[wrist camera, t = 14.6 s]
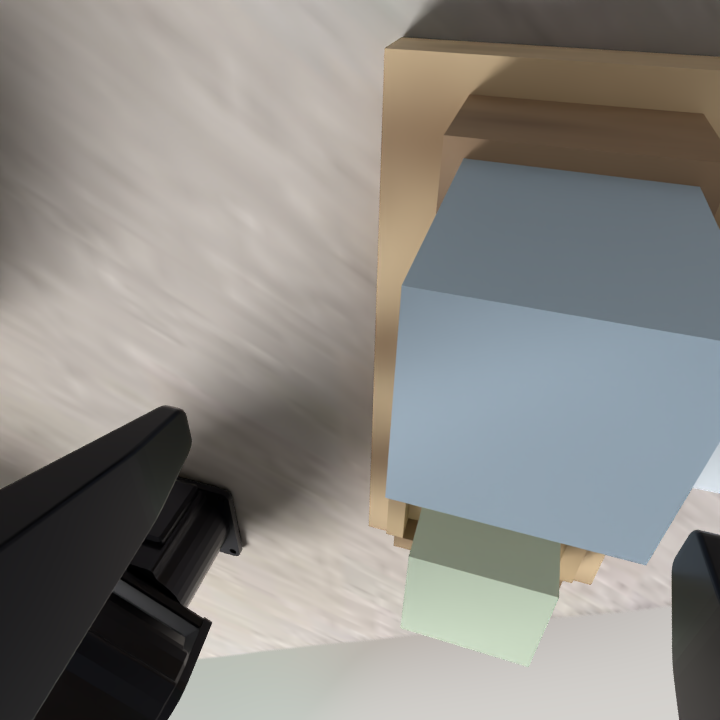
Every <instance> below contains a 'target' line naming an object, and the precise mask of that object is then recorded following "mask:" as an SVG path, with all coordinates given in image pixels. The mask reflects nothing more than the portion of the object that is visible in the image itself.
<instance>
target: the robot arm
mask: <svg viewBox="0 0 720 720" xmlns="http://www.w3.org/2000/svg"><path fill="white" fill-rule="evenodd" d="M191 444H192V438H191V434H190V429H189V425H188V420H187V416H186V413H185V412H184V410H182V409H180V408H176V407H172V406H167V405H165V406H161V407H158V408H156V409H154V410H152V411H151V412H149V413H147V414H145V415H143V416H141V417H139V418H137V419H135V420H133V421H131V422H129V423H127V424H126V425H124V426H122V427H120V428H118V429H116V430H114V431H112V432H110V433H108V434H106V435H104V436H102V437H101V438H99V439H97V440H95V441H93V442H91V443H89V444H87V445H85V446H83V447H81V448H79V449H77V450H76V451H74V452H72V453H70V454H68V455H66V456H64V457H62V458H60V459H58V460H56V461H54V462H52V463H51V464H49V465H47V466H45V467H43V468H41V469H39V470H37V471H35V472H33V473H31V474H29V475H27V476H26V477H24V478H22V479H20V480H18V481H16V482H14V483H12V484H10V485H8V486H6V487H4V488H2V489H1V490H0V720H168V718H169V717H170V715H171V713H172V712H173V710H174V709H175V707H176V705H177V703H178V702H179V700H180V698H181V696H182V694H183V692H184V690H185V687H186V685H187V683H188V681H189V678H190V676H191V673H192V671H193V668H194V666H195V663H196V661H197V659H198V656H199V654H200V651H201V649H202V646H203V644H204V641H205V639H206V637H207V634H208V632H209V629H210V627H211V624H212V622H211V621H210V620H208V619H207V618H205V617H204V618H202V617H200V616H199V615H197V614H196V613H194V612H193V611H191V610H189V609H188V608H187V607H188V605H189V604H190V602H191V600H192V598H193V597H194V595H195V593H196V591H197V590H198V588H199V586H200V584H201V582H202V581H203V579H204V577H205V575H206V574H207V572H208V570H209V568H210V567H211V565H212V563H213V561H214V560H215V558H216V556H217V554H218V553H219V551H220V552H224V553H227V554H230V555H234V556H239V555H240V553H241V551H242V544H241V539H240V534H239V529H238V524H237V519H236V514H235V509H234V504H233V499H232V495H231V494H230V493H229V492H228V491H227V490H225V489H221V488H218V487H214V486H210V485H206V484H203V483H199V482H195V481H191V480H188V479H184V478H180V477H178V474H179V472H180V470H181V468H182V466H183V464H184V462H185V460H186V458H187V456H188V454H189V451H190V448H191ZM672 660H673V673H674V682H675V691H676V698H677V706H678V713H679V720H720V535H718V534H714V533H709V532H705V531H701V530H694V531H693V532H691V533H690V535H689V536H688V538H687V539H686V541H685V543H684V544H683V546H682V547H681V549H680V551H679V552H678V554H677V555H676V557H675V559H674V562H673V566H672Z"/></svg>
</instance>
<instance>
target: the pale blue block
mask: <svg viewBox="0 0 720 720" xmlns="http://www.w3.org/2000/svg"><path fill="white" fill-rule="evenodd" d="M719 442H720V229H719V227H718V225H717V223H716V221H715V218H714V216H713V214H712V212H711V210H710V208H709V205H708V203H707V201H706V199H705V197H704V194H703V192H702V190H701V188H700V187H698V186H689V185H681V184H673V183H664V182H656V181H648V180H639V179H631V178H623V177H615V176H606V175H598V174H590V173H581V172H573V171H565V170H556V169H548V168H540V167H531V166H523V165H515V164H507V163H498V162H490V161H482V160H473V159H465V158H463V161H462V163H461V165H460V167H459V169H458V171H457V173H456V175H455V177H454V179H453V181H452V183H451V185H450V187H449V189H448V191H447V193H446V195H445V197H444V200H443V202H442V204H441V206H440V208H439V210H438V212H437V214H436V216H435V218H434V220H433V222H432V224H431V226H430V228H429V230H428V232H427V234H426V237H425V239H424V241H423V243H422V245H421V247H420V249H419V251H418V253H417V255H416V257H415V259H414V261H413V263H412V265H411V267H410V269H409V271H408V273H407V276H406V278H405V280H404V282H403V284H402V287H401V300H400V313H399V326H398V339H397V352H396V365H395V378H394V390H393V403H392V416H391V429H390V442H389V455H388V468H387V481H386V494H385V498H388V499H392V500H396V501H400V502H404V503H408V504H412V505H415V506H419V507H423V508H427V509H431V510H435V511H439V512H442V513H446V514H450V515H454V516H458V517H462V518H465V519H469V520H473V521H477V522H481V523H485V524H489V525H492V526H496V527H500V528H504V529H508V530H512V531H516V532H519V533H523V534H527V535H531V536H535V537H539V538H543V539H546V540H550V541H554V542H558V543H562V544H566V545H570V546H573V547H577V548H581V549H585V550H589V551H593V552H597V553H600V554H604V555H608V556H612V557H616V558H620V559H624V560H627V561H631V562H635V563H639V564H643V565H647V563H648V561H649V560H650V558H651V556H652V555H653V553H654V551H655V550H656V548H657V546H658V544H659V543H660V541H661V539H662V538H663V536H664V534H665V533H666V531H667V529H668V528H669V526H670V524H671V523H672V521H673V519H674V518H675V516H676V514H677V513H678V511H679V509H680V508H681V506H682V504H683V503H684V501H685V499H686V498H687V496H688V494H689V493H690V491H691V489H692V488H693V486H694V484H695V483H696V481H697V479H698V478H699V476H700V474H701V473H702V471H703V469H704V468H705V466H706V464H707V463H708V461H709V459H710V458H711V456H712V454H713V453H714V451H715V449H716V448H717V446H718V444H719Z"/></svg>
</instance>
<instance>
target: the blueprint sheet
mask: <svg viewBox="0 0 720 720" xmlns="http://www.w3.org/2000/svg"><path fill="white" fill-rule="evenodd" d="M693 488H696V489H701V490H705V491H710V492H714V493H719V494H720V442H719V444H718V446H717V448H716V449H715V451H714V453H713V454H712V456H711V458H710V459H709V461H708V463H707V464H706V466H705V468H704V469H703V471H702V473H701V474H700V476H699V478H698V479H697V481H696V483H695V484H694V486H693Z"/></svg>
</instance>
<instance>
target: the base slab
mask: <svg viewBox="0 0 720 720" xmlns="http://www.w3.org/2000/svg"><path fill="white" fill-rule="evenodd" d="M463 158H465V159H473V160H482V161H490V162H498V163H507V164H515V165H523V166H531V167H540V168H548V169H556V170H565V171H573V172H581V173H590V174H598V175H606V176H615V177H623V178H631V179H639V180H648V181H656V182H664V183H673V184H681V185H689V186H698V187H700V188H701V190H702V192H703V194H704V197H705V199H706V201H707V203H708V205H709V208H710V210H711V212H712V214H713V216H714V218H715V221H716V223H717V225H718V227H719V229H720V57H715V56H698V55H682V54H666V53H650V52H633V51H617V50H601V49H585V48H568V47H552V46H536V45H520V44H503V43H487V42H471V41H455V40H438V39H422V38H406V37H401V38H400V39H398V40H397V41H395V42H394V43H392V44H391V45H389V46H387V47H386V48H385V54H384V84H383V114H382V144H381V174H380V205H379V235H378V265H377V295H376V326H375V356H374V386H373V416H372V446H371V477H370V507H369V526H370V527H374V528H378V529H382V530H386V531H387V532H386V534H389V535H393V536H394V546H397V547H401V548H405V549H408V550H411V547H412V543H413V539H414V535H415V532H416V528H417V524H418V520H419V517H420V513H421V509H422V507H419V506H415V505H412V504H408V503H404V502H400V501H396V500H392V499H388V498H385V494H386V481H387V468H388V455H389V442H390V429H391V416H392V403H393V390H394V378H395V365H396V352H397V339H398V326H399V313H400V300H401V287H402V284H403V282H404V280H405V278H406V276H407V273H408V271H409V269H410V267H411V265H412V263H413V261H414V259H415V257H416V255H417V253H418V251H419V249H420V247H421V245H422V243H423V241H424V239H425V237H426V234H427V232H428V230H429V228H430V226H431V224H432V222H433V220H434V218H435V216H436V214H437V212H438V210H439V208H440V206H441V204H442V202H443V200H444V197H445V195H446V193H447V191H448V189H449V187H450V185H451V183H452V181H453V179H454V177H455V175H456V173H457V171H458V169H459V167H460V165H461V163H462V161H463ZM604 557H605V555H604V554H600V553H597V552H593V551H589V550H585V549H581V548H577V547H573V546H570V545H566V544H562V543H561V545H560V579H559V588H560V586H561V583H562V581H566V582H570V583H572V582H573V580H574V581H578V582H582V583H586V584H589V585H591V584H592V581H593V579H594V577H595V575H596V573H597V571H598V569H599V567H600V565H601V563H602V561H603V559H604Z"/></svg>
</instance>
